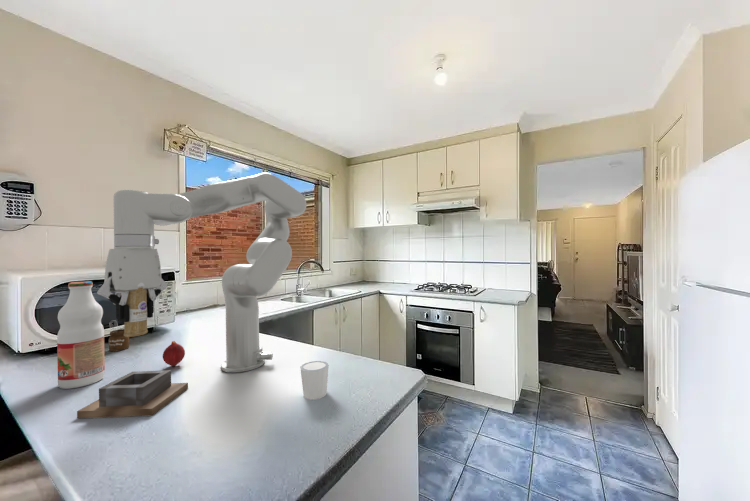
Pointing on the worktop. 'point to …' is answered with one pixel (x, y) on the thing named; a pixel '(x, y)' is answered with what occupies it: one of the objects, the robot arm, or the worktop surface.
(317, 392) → the white cup
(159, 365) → the worktop surface
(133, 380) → the socket stand
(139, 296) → the sprinkles bottle
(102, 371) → the fruit juice
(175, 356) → the onion
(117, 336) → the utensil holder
